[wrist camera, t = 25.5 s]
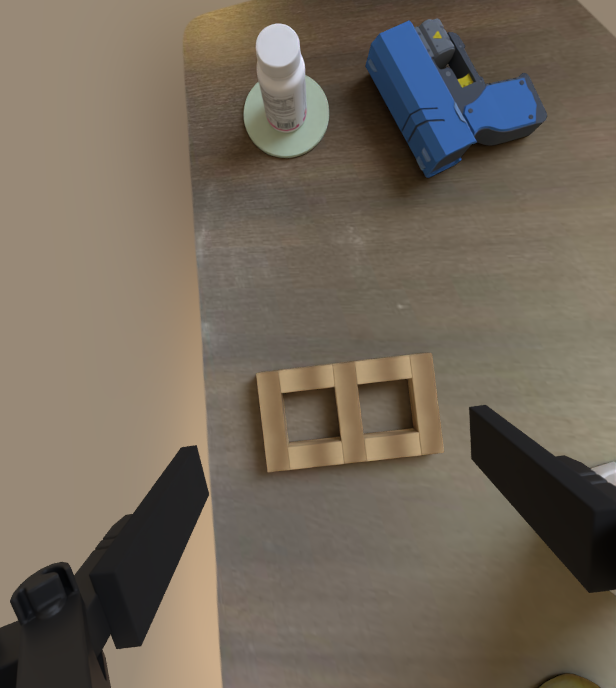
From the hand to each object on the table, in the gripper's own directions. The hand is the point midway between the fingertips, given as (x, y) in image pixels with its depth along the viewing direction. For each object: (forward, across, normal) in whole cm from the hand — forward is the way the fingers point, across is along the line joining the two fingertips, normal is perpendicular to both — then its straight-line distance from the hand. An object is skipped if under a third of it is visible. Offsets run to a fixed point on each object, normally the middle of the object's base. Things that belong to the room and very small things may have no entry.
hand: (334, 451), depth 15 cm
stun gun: (+29, +19, +25) cm, 43 cm away
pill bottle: (+28, 0, +27) cm, 39 cm away
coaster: (+28, 0, +27) cm, 39 cm away
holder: (+21, +2, -8) cm, 22 cm away
